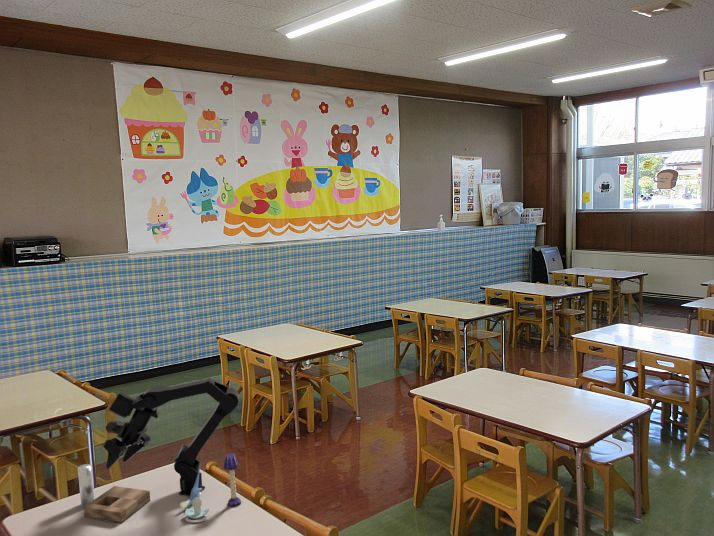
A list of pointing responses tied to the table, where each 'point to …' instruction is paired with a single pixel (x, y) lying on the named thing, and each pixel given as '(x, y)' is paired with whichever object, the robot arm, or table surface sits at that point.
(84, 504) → the aluminium peg
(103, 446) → the robot arm
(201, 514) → the pacifier
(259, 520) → the table surface
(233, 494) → the toy lamp
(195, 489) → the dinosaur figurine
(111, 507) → the pocket board
